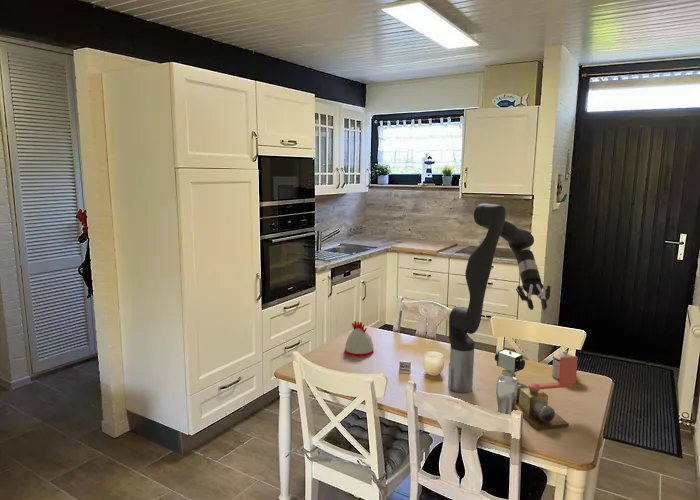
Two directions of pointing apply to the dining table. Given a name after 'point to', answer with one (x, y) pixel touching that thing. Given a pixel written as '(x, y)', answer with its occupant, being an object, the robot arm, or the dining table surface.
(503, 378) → the grey vase
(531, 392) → the valve body
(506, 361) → the pneumatic valve
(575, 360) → the lever
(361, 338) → the grey beanie hat
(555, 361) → the teacup with lid
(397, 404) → the dining table surface
